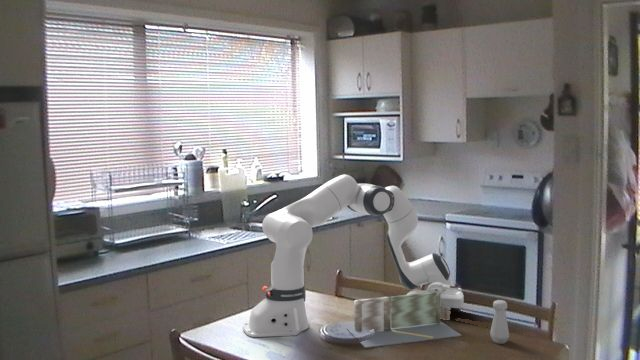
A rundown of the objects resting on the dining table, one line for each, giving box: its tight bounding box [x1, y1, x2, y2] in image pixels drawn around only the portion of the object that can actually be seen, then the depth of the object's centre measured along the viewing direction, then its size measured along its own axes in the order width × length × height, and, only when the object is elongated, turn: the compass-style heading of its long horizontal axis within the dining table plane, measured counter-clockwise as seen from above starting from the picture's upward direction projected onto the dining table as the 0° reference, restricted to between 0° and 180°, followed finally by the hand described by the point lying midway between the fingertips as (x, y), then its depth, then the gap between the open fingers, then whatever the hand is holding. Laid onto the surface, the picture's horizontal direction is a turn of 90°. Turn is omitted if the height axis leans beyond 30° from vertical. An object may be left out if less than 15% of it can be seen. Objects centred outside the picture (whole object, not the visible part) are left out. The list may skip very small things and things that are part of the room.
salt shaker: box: [489, 299, 510, 345], centre depth 192 cm, size 6×6×13 cm
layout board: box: [359, 320, 462, 349], centre depth 202 cm, size 33×18×1 cm, turn 106°
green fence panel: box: [390, 292, 441, 328], centre depth 206 cm, size 18×2×10 cm, turn 106°
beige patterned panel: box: [353, 296, 391, 332], centre depth 202 cm, size 12×3×11 cm, turn 106°
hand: (432, 305), depth 213 cm, fingers closed
